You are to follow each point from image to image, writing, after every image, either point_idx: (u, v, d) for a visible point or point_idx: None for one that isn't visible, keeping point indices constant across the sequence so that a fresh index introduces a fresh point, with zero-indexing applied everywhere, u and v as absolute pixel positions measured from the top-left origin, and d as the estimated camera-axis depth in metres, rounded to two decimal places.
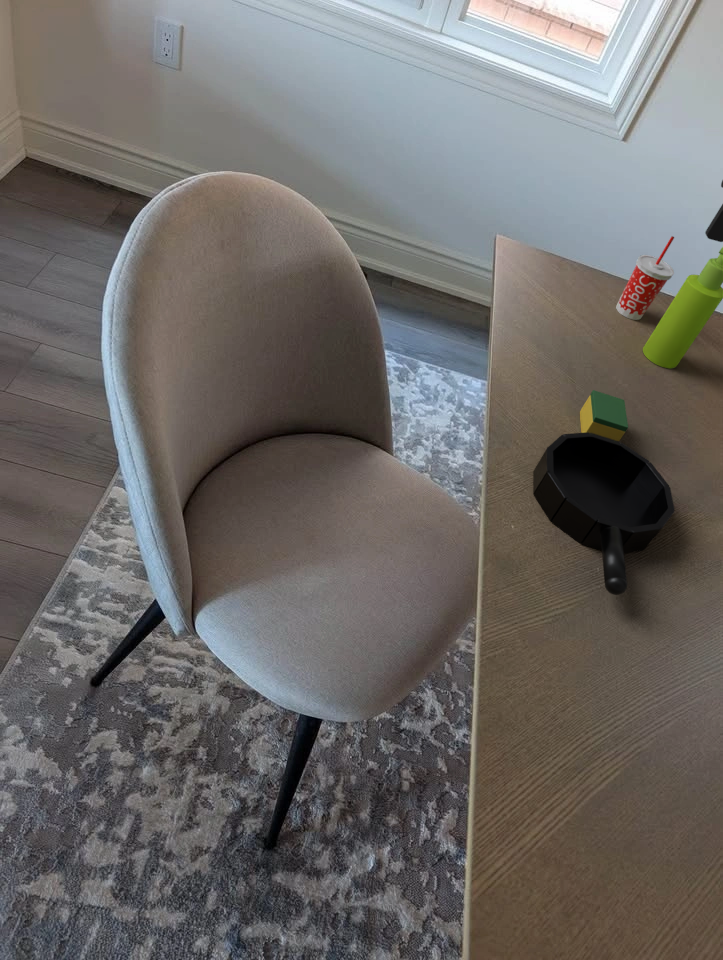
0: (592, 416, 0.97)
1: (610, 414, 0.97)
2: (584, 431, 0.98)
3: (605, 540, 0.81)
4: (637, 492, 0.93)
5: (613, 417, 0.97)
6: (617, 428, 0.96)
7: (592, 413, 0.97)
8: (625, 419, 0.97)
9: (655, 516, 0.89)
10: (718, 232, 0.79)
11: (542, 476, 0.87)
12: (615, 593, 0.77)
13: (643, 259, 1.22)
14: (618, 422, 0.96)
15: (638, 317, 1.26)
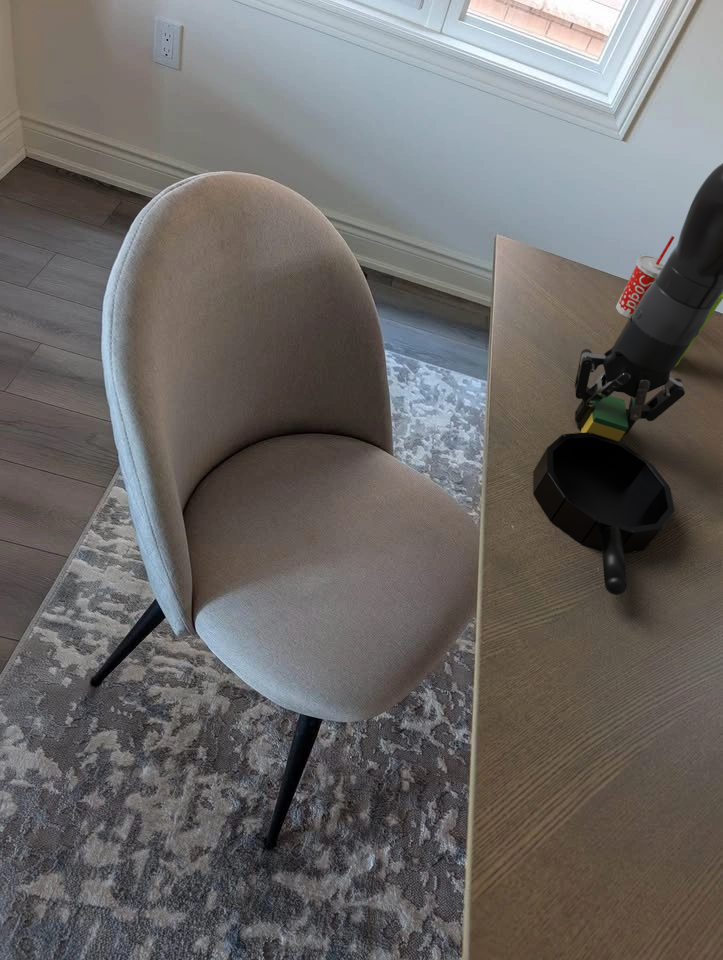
0: (592, 416, 0.97)
1: (610, 414, 0.97)
2: (584, 431, 0.98)
3: (605, 540, 0.81)
4: (637, 492, 0.93)
5: (613, 417, 0.97)
6: (617, 428, 0.96)
7: (593, 413, 0.97)
8: (625, 419, 0.97)
9: (655, 516, 0.89)
10: None
11: (542, 476, 0.87)
12: (615, 593, 0.77)
13: (643, 259, 1.22)
14: (618, 422, 0.96)
15: None
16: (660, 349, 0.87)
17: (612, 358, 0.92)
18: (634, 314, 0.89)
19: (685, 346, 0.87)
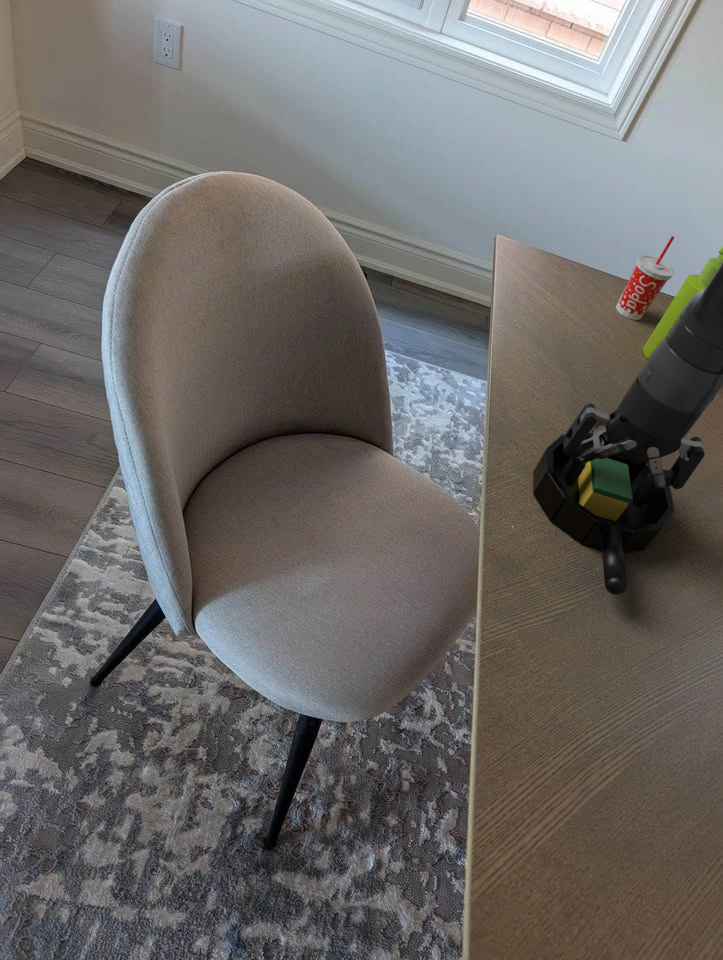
0: (592, 485, 0.86)
1: (612, 483, 0.86)
2: (583, 501, 0.87)
3: (605, 540, 0.81)
4: None
5: (616, 487, 0.86)
6: (620, 499, 0.86)
7: (592, 482, 0.86)
8: (629, 489, 0.86)
9: (655, 516, 0.89)
10: None
11: (542, 476, 0.87)
12: (615, 593, 0.77)
13: (643, 259, 1.22)
14: (621, 493, 0.85)
15: (638, 317, 1.26)
16: (671, 417, 0.76)
17: (619, 423, 0.81)
18: (641, 375, 0.78)
19: (699, 413, 0.76)
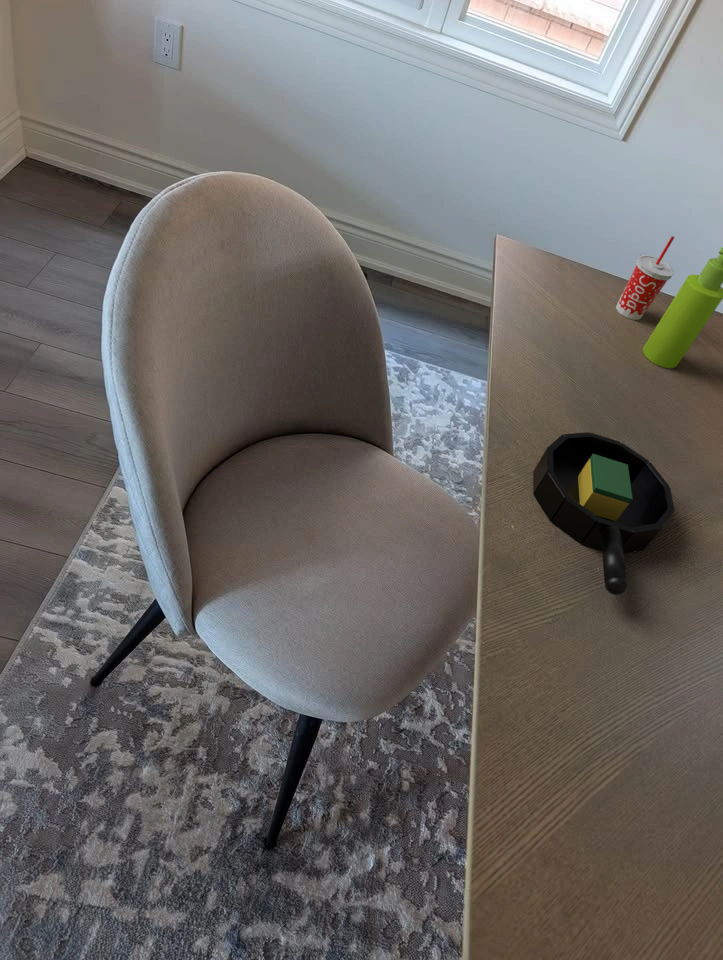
0: (592, 485, 0.86)
1: (612, 483, 0.86)
2: (583, 501, 0.87)
3: (605, 540, 0.81)
4: (637, 492, 0.93)
5: (616, 487, 0.86)
6: (620, 499, 0.86)
7: (592, 482, 0.86)
8: (629, 489, 0.86)
9: (655, 516, 0.89)
10: None
11: (542, 476, 0.87)
12: (615, 593, 0.77)
13: (643, 259, 1.22)
14: (621, 493, 0.85)
15: (638, 317, 1.26)
16: None
17: None
18: None
19: None
